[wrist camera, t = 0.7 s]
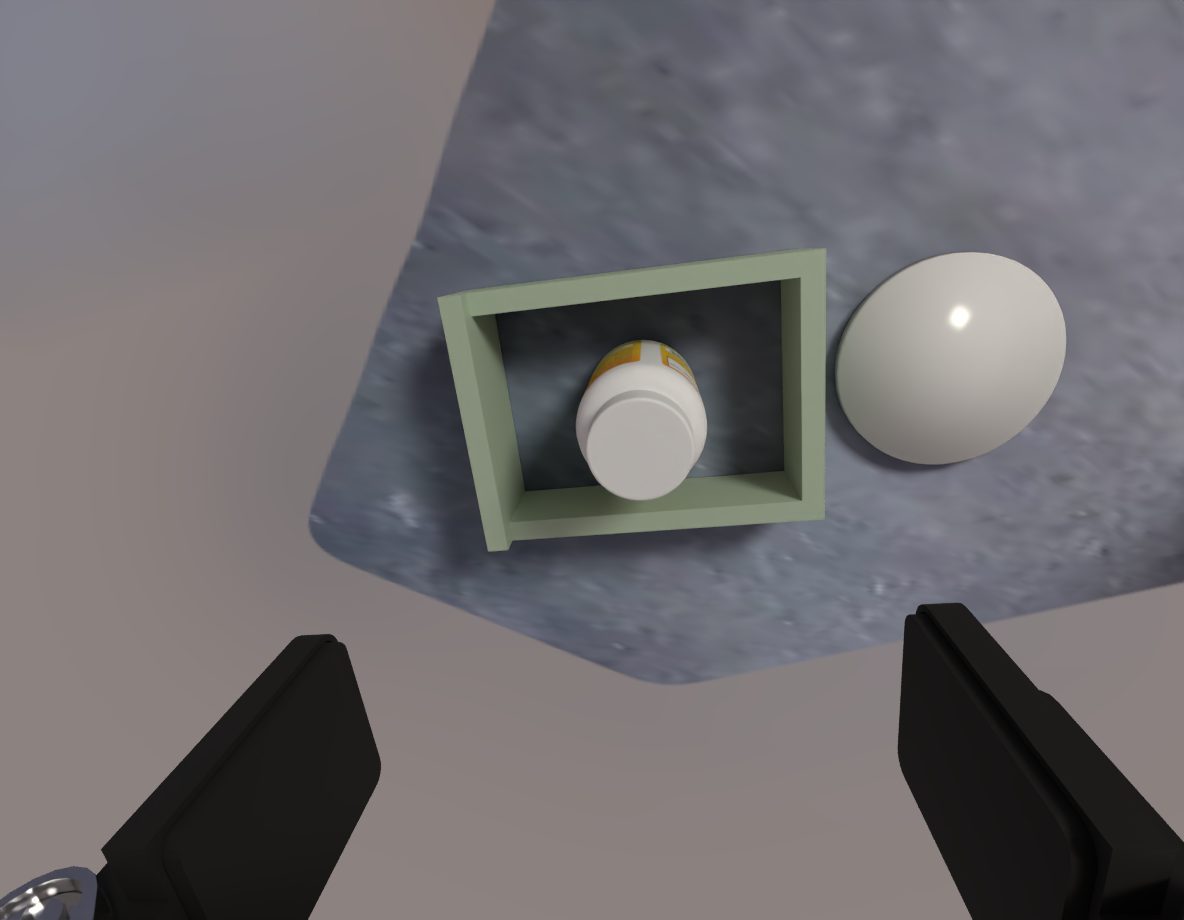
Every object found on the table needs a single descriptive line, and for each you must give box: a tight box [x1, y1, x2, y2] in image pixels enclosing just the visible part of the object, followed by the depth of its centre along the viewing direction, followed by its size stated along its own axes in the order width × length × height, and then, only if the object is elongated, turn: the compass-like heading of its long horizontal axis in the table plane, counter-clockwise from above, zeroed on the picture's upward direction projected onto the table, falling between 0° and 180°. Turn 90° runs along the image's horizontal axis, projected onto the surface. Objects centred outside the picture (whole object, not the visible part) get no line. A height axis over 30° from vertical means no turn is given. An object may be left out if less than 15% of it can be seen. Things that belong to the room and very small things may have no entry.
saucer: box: [835, 252, 1066, 464], centre depth 28 cm, size 10×10×1 cm
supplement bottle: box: [576, 340, 707, 500], centre depth 26 cm, size 5×5×10 cm
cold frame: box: [438, 248, 826, 551], centre depth 28 cm, size 16×12×5 cm
